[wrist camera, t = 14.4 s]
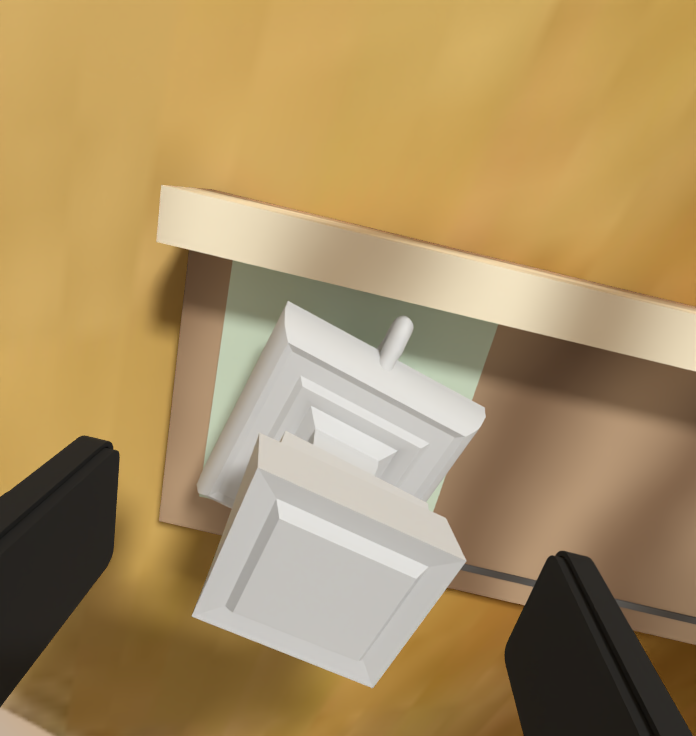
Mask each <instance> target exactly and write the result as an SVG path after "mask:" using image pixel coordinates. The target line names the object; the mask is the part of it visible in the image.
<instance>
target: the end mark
mask: <svg viewBox="0 0 696 736" xmlns="http://www.w3.org/2000/svg"><path fill="white" fill-rule="evenodd" d="M287 301H289V302H291V303H293V304H295V305H297V306H298V307H300V308H302V309H304V310H306V311H308V312H310V313H311V314H313V315H315V316H317V317H319V318H321V319H322V320H324V321H326V322H328V323H330V324H332V325H333V326H335V327H337V328H339V329H341V330H343V331H345V332H346V333H348V334H350V335H352V336H354V337H356V338H357V339H359V340H361V341H363V342H365V343H367V344H368V345H370V346H372V347H374V348H376V349H377V348H378V346H379V345H380V343H381V342H382V341H383V339H384V338H385V336H386V333H387V331H388V329H389V328H390V326H391V324H392V323H393V321H394V320H395V319H396V318H397V317H399V316H407V317H408V318H409V319H410V320H411V321H412V323H413V332H412V334H411V336H410V338H409V340H408V342H407V344H406V346H405V348H404V351H403V353H402V355H401V356H400V357H399V359H398V361H400V362H402V363H403V364H405V365H407V366H409V367H411V368H413V369H415V370H416V371H418V372H420V373H422V374H424V375H426V376H427V377H429V378H431V379H433V380H435V381H437V382H438V383H440V384H442V385H444V386H446V387H448V388H450V389H451V390H453V391H455V392H457V393H459V394H461V395H462V396H464V397H466V398H468V399H470V400H472V399H473V396H474V393H475V390H476V387H477V384H478V381H479V379H480V376H481V373H482V370H483V367H484V364H485V361H486V358H487V356H488V353H489V350H490V347H491V344H492V341H493V338H494V335H495V333H496V330H497V327H498V324H496V323H492V322H488V321H484V320H480V319H476V318H471V317H467V316H463V315H459V314H455V313H451V312H447V311H442V310H438V309H434V308H430V307H426V306H422V305H417V304H413V303H409V302H405V301H401V300H397V299H392V298H388V297H384V296H380V295H376V294H372V293H368V292H363V291H359V290H355V289H351V288H347V287H343V286H338V285H334V284H330V283H326V282H322V281H318V280H313V279H309V278H305V277H301V276H297V275H293V274H288V273H284V272H280V271H276V270H272V269H268V268H264V267H259V266H255V265H251V264H247V263H243V262H239V261H234V260H233V262H232V269H231V276H230V283H229V290H228V297H227V304H226V311H225V318H224V325H223V332H222V339H221V346H220V353H219V360H218V367H217V374H216V381H215V388H214V395H213V402H212V409H211V416H210V423H209V430H208V437H207V444H206V451H205V458H204V465H203V468H204V466H205V464H206V462H207V460H208V458H209V457H210V455H211V453H212V451H213V449H214V447H215V445H216V443H217V441H218V439H219V437H220V435H221V433H222V431H223V429H224V427H225V425H226V423H227V421H228V419H229V417H230V415H231V413H232V411H233V409H234V407H235V405H236V403H237V401H238V399H239V397H240V395H241V393H242V391H243V389H244V387H245V385H246V383H247V381H248V379H249V377H250V375H251V373H252V371H253V369H254V367H255V365H256V363H257V361H258V359H259V357H260V355H261V353H262V351H263V349H264V347H265V345H266V343H267V341H268V339H269V337H270V335H271V333H272V331H273V329H274V327H275V325H276V323H277V321H278V319H279V317H280V315H281V313H282V311H283V309H284V307H285V305H286V303H287ZM445 476H446V475H445ZM444 479H445V477H444V478H443V480H442V481H441V482H440V484H439V485H438V487H437V488H436V489H435V491H434V492H433V493H432V495H431V496H430V498H429V499H428V500H427V502H426V503H428V508H429V511H432V512H433V511H434V508H435V505H436V502H437V499H438V496H439V494H440V491H441V488H442V485H443V482H444ZM199 496H200V497H204V498H208V497H206V496H204V495H202V494H200V493H199ZM209 499H210V498H209Z"/></svg>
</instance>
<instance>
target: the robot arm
mask: <svg viewBox="0 0 696 736" xmlns="http://www.w3.org/2000/svg"><path fill="white" fill-rule="evenodd" d="M119 458H120V457H119V452H118V451H117V450H113V445H112V443H111V442H109V441H105V440H101V439H97V438H93V437H89V436H81V437H79V438H77V439H76V440H75V441H73V442H72V443H71V444H69V445H68V446H67V447H66V448H64V449H63V450H62V451H60V452H59V453H58V454H57V455H55V456H54V457H53V458H51V459H50V460H49V461H48V462H46V463H45V464H44V465H42V466H41V467H40V468H38V469H37V470H36V471H35V472H33V473H32V474H31V475H29V476H28V477H27V478H26V479H24V480H23V481H22V482H20V483H19V484H18V485H16V486H15V487H14V488H13V489H11V490H10V491H8V492H7V493H5V494H4V495H2V496H1V497H0V707H1V705H2V704H3V703H4V702H5V700H6V699H7V698H8V696H9V695H10V694H11V692H12V691H13V690H14V688H15V687H16V686H17V684H18V683H19V682H20V680H21V679H22V678H23V677H24V675H25V674H26V673H27V671H28V670H29V669H30V667H31V666H32V665H33V663H34V662H35V661H36V659H37V658H38V657H39V656H40V654H41V653H42V652H43V650H44V649H45V648H46V646H47V645H48V644H49V642H50V641H51V640H52V638H53V637H54V636H55V634H56V633H57V632H58V631H59V629H60V628H61V627H62V625H63V624H64V623H65V621H66V620H67V619H68V617H69V616H70V615H71V613H72V612H73V611H74V609H75V608H76V607H77V606H78V604H79V603H80V602H81V600H82V599H83V598H84V596H85V595H86V594H87V592H88V591H89V590H90V588H91V587H92V586H93V584H94V583H95V582H96V581H97V579H98V578H99V577H100V575H101V574H102V573H103V571H104V570H105V569H106V567H107V566H108V564H109V562H110V560H111V557H112V554H113V549H114V534H115V519H116V504H117V489H118V473H119ZM505 664H506V668H507V672H508V676H509V680H510V683H511V687H512V691H513V695H514V699H515V703H516V707H517V711H518V715H519V719H520V723H521V726H522V730H523V734H524V736H693V735H692V733H691V732H690V730H689V728H688V726H687V725H686V723H685V721H684V719H683V718H682V716H681V714H680V712H679V711H678V709H677V707H676V705H675V704H674V702H673V700H672V698H671V697H670V695H669V693H668V691H667V690H666V688H665V686H664V684H663V683H662V681H661V679H660V677H659V676H658V674H657V672H656V670H655V668H654V667H653V665H652V663H651V661H650V660H649V658H648V656H647V654H646V653H645V651H644V649H643V647H642V646H641V644H640V642H639V640H638V639H637V637H636V635H635V633H634V632H633V630H632V628H631V626H630V625H629V623H628V621H627V619H626V618H625V616H624V614H623V612H622V611H621V609H620V607H619V605H618V604H617V602H616V600H615V598H614V597H613V595H612V593H611V591H610V590H609V588H608V586H607V584H606V583H605V581H604V579H603V577H602V576H601V574H600V572H599V570H598V569H597V567H596V565H595V563H594V562H593V561H592V559H591V558H589V557H587V556H583V555H579V554H575V553H571V552H567V551H559V552H558V553H557V554H556V555H555V556H553V555H551V556H549V557H548V558H547V560H546V562H545V564H544V566H543V568H542V570H541V572H540V574H539V577H538V579H537V581H536V583H535V585H534V587H533V589H532V591H531V593H530V595H529V598H528V600H527V602H526V604H525V606H524V608H523V610H522V612H521V614H520V616H519V619H518V621H517V623H516V625H515V627H514V629H513V631H512V633H511V635H510V638H509V640H508V642H507V644H506V648H505Z"/></svg>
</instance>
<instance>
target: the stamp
mask: <svg viewBox="0 0 696 736" xmlns="http://www.w3.org/2000/svg"><path fill="white" fill-rule="evenodd" d="M412 332H413V323H412V321H411V320H410V319H409V318H408V317H407V316H399V317H397V318H396V319H395V320H394V321H393V323H392V324H391V326H390V328H389V329H388V331H387V333H386V336H385V338H384V339H383V341H382V342H381V343H380V345H379V346H378V348H377V349H376V348H374V347H372V346H370V345H368V344H367V343H365V342H363V341H361V340H359V339H357V338H356V337H354V336H352V335H350V334H348V333H346V332H345V331H343V330H341V329H339V328H337V327H335V326H333V325H332V324H330V323H328V322H326V321H324V320H322V319H321V318H319V317H317V316H315V315H313V314H311V313H310V312H308V311H306V310H304V309H302V308H300V307H298V306H297V305H295V304H293V303H291V302H289V301H287V303H286V305H285V307H284V309H283V311H282V313H281V315H280V317H279V319H278V321H277V323H276V325H275V327H274V329H273V331H272V333H271V335H270V337H269V339H268V341H267V343H266V345H265V347H264V349H263V351H262V353H261V355H260V357H259V359H258V361H257V363H256V365H255V367H254V369H253V371H252V373H251V375H250V377H249V379H248V381H247V383H246V385H245V387H244V389H243V391H242V393H241V395H240V397H239V399H238V401H237V403H236V405H235V407H234V409H233V411H232V413H231V415H230V417H229V419H228V421H227V423H226V425H225V427H224V429H223V431H222V433H221V435H220V437H219V439H218V441H217V443H216V445H215V447H214V449H213V451H212V453H211V455H210V457H209V458H208V460H207V462H206V464H205V466H204V468H203V470H202V472H201V474H200V478H199V480H198V482H197V484H196V485H197V490H198V493H200V494H202V495H204V496H206V497H208V498H210V499H212V500H214V501H216V502H218V503H221V504H223V505H225V506H227V507H229V508H231V509H232V510H231V512H230V515H229V518H228V521H227V523H226V526H225V529H224V532H223V534H222V537H221V540H220V543H219V545H218V548H217V551H216V554H215V556H214V559H213V562H212V565H211V567H210V570H209V573H208V575H207V578H206V580H205V583H204V586H203V588H202V591H201V593H200V596H199V599H198V601H197V604H196V606H195V609H194V611H193V614H192V617H194V618H197V619H199V620H202V621H204V622H207V623H209V624H212V625H214V626H217V627H219V628H222V629H225V630H227V631H230V632H232V633H235V634H237V635H240V636H242V637H245V638H247V639H250V640H252V641H255V642H257V643H260V644H263V645H265V646H268V647H270V648H273V649H275V650H278V651H280V652H283V653H285V654H288V655H290V656H293V657H295V658H298V659H300V660H303V661H306V662H308V663H311V664H313V665H316V666H318V667H321V668H323V669H326V670H328V671H331V672H333V673H336V674H338V675H341V676H343V677H346V678H349V679H351V680H354V681H356V682H359V683H361V684H364V685H366V686H369V687H371V688H373V687H374V686H375V685H376V683H377V682H378V680H379V679H380V678H381V676H382V675H383V674H384V672H385V671H386V670H387V668H388V667H389V666H390V664H391V663H392V661H393V660H394V659H395V657H396V656H397V655H398V653H399V652H400V651H401V649H402V648H403V647H404V645H405V644H406V642H407V641H408V640H409V638H410V637H411V636H412V634H413V633H414V632H415V630H416V629H417V628H418V626H419V625H420V623H421V622H422V621H423V619H424V618H425V617H426V615H427V614H428V613H429V611H430V610H431V609H432V607H433V606H434V605H435V603H436V602H437V600H438V599H439V598H440V596H441V595H442V594H443V592H444V591H445V590H446V588H447V587H448V586H449V584H450V583H451V581H452V580H453V579H454V577H455V576H456V575H457V573H458V572H459V571H460V569H461V568H462V567H463V565H464V564H465V562H466V559H465V557H464V555H463V553H462V550H461V548H460V546H459V544H458V542H457V540H456V538H455V536H454V534H453V532H452V530H451V528H450V525H449V523H448V521H447V519H446V518H445V517H443V516H440V515H438V514H436V513H434V512H432V511H429V508H428V503H426V502H427V500H428V499H429V498H430V496H431V495H432V493H433V492H434V491H435V489H436V488H437V487H438V485H439V484H440V482H441V481H442V480H443V478H444V477H445V475H446V474H447V473H448V471H449V470H450V469H451V467H452V466H453V464H454V463H455V462H456V460H457V459H458V457H459V456H460V455H461V453H462V452H463V451H464V449H465V448H466V446H467V445H468V444H469V442H470V441H471V439H472V438H473V437H474V435H475V434H476V433H477V431H478V430H479V428H480V427H481V425H482V423H483V421H484V419H485V418H486V415H485V407H483V406H481V405H479V404H477V403H475V402H474V401H472V400H470V399H468V398H466V397H464V396H462V395H461V394H459V393H457V392H455V391H453V390H451V389H450V388H448V387H446V386H444V385H442V384H440V383H438V382H437V381H435V380H433V379H431V378H429V377H427V376H426V375H424V374H422V373H420V372H418V371H416V370H415V369H413V368H411V367H409V366H407V365H405V364H403V363H402V362H400V361H398V359H399V357H400V356H401V355H402V353H403V351H404V348H405V346H406V344H407V342H408V340H409V338H410V336H411V334H412Z"/></svg>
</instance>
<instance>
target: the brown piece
mask: <svg viewBox="0 0 696 736" xmlns="http://www.w3.org/2000/svg"><path fill="white" fill-rule="evenodd" d="M157 242H160V243H164V244H168V245H172V246H176V247H180V248H185V249H189V255H188V264H187V273H186V282H185V291H184V300H183V309H182V318H181V327H180V336H179V345H178V354H177V363H176V372H175V381H174V390H173V399H172V408H171V417H170V426H169V435H168V444H167V453H166V462H165V471H164V480H163V489H162V498H161V507H160V516H159V521H162V522H166V523H170V524H175V525H179V526H183V527H188V528H192V529H196V530H201V531H205V532H209V533H214V534H218V535H222V534H223V532H224V529H225V526H226V523H227V521H228V518H229V515H230V512H231V510H232V509H231V508H229V507H227V506H225V505H223V504H221V503H218V502H216V501H214V500H212V499H209V498H204V497H200V496H199V493H198V490H197V485H196V484H197V482H198V480H199V478H200V474H201V472H202V470H203V465H204V458H205V451H206V444H207V437H208V430H209V423H210V416H211V409H212V402H213V395H214V388H215V381H216V374H217V367H218V360H219V353H220V346H221V339H222V332H223V325H224V318H225V311H226V304H227V297H228V290H229V283H230V276H231V269H232V262H233V260H234V261H239V262H243V263H247V264H251V265H255V266H259V267H264V268H268V269H272V270H276V271H280V272H284V273H288V274H293V275H297V276H301V277H305V278H309V279H313V280H318V281H322V282H326V283H330V284H334V285H338V286H343V287H347V288H351V289H355V290H359V291H363V292H368V293H372V294H376V295H380V296H384V297H388V298H392V299H397V300H401V301H405V302H409V303H413V304H417V305H422V306H426V307H430V308H434V309H438V310H442V311H447V312H451V313H455V314H459V315H463V316H467V317H471V318H476V319H480V320H484V321H488V322H492V323H496V324H498V327H497V330H496V333H495V335H494V338H493V341H492V344H491V347H490V350H489V353H488V356H487V358H486V361H485V364H484V367H483V370H482V373H481V376H480V379H479V381H478V384H477V387H476V390H475V393H474V396H473V399H472V401H474V402H475V403H477V404H479V405H481V406H483V407H485V415H486V418H485V419H484V421H483V423H482V425H481V427H480V428H479V430H478V431H477V433H476V434H475V435H474V437H473V438H472V439H471V441H470V442H469V444H468V445H467V446H466V448H465V449H464V451H463V452H462V453H461V455H460V456H459V457H458V459H457V460H456V462H455V463H454V464H453V466H452V467H451V469H450V470H449V471H448V473H447V474H446V476H445V479H444V482H443V485H442V488H441V491H440V494H439V496H438V499H437V502H436V505H435V508H434V511H433V512H434V513H436V514H438V515H440V516H443V517H445V518H446V519H447V521H448V523H449V525H450V528H451V530H452V532H453V534H454V536H455V538H456V540H457V542H458V544H459V546H460V548H461V550H462V553H463V555H464V557H465V559H466V562H465V564H464V565H463V567H462V568H461V569H460V571H459V572H458V573H457V575H456V576H455V577H454V579H453V580H452V581H451V583H450V584H449V586H448V587H447V588H452V589H456V590H460V591H465V592H469V593H473V594H478V595H482V596H486V597H491V598H495V599H499V600H504V601H508V602H512V603H517V604H521V605H525V604H526V602H527V600H528V598H529V595H530V593H531V591H532V589H533V587H534V585H535V583H536V581H537V579H538V577H539V574H540V572H541V570H542V568H543V566H544V564H545V562H546V560H547V558H548V557H549V556H551V555H553V556H555V555H556V554H557V553H558V552H559V551H567V552H571V553H575V554H579V555H583V556H587V557H589V558H591V559H592V561H593V562H594V563H595V565H596V567H597V569H598V570H599V572H600V574H601V576H602V577H603V579H604V581H605V583H606V584H607V586H608V588H609V590H610V591H611V593H612V595H613V597H614V598H615V600H616V602H617V604H618V605H619V607H620V609H621V611H622V612H623V614H624V616H625V618H626V619H627V621H628V623H629V625H630V626H631V628H632V630H634V631H638V632H642V633H647V634H651V635H655V636H660V637H664V638H668V639H673V640H677V641H681V642H686V643H690V644H694V645H696V307H694V306H690V305H686V304H682V303H678V302H673V301H669V300H665V299H661V298H657V297H653V296H649V295H645V294H641V293H636V292H632V291H628V290H624V289H620V288H616V287H612V286H608V285H603V284H599V283H595V282H591V281H587V280H583V279H579V278H575V277H570V276H566V275H562V274H558V273H554V272H550V271H546V270H542V269H538V268H533V267H529V266H525V265H521V264H517V263H513V262H509V261H505V260H500V259H496V258H492V257H488V256H484V255H480V254H476V253H472V252H468V251H463V250H459V249H455V248H451V247H447V246H443V245H439V244H435V243H430V242H426V241H422V240H418V239H414V238H410V237H406V236H402V235H397V234H393V233H389V232H385V231H381V230H377V229H373V228H369V227H365V226H360V225H356V224H352V223H348V222H344V221H340V220H336V219H332V218H327V217H323V216H319V215H315V214H311V213H307V212H303V211H299V210H294V209H290V208H286V207H282V206H278V205H274V204H270V203H266V202H262V201H257V200H253V199H249V198H245V197H241V196H237V195H233V194H229V193H224V192H220V191H216V190H212V189H201V188H190V187H178V186H167V185H161V196H160V207H159V219H158V230H157Z"/></svg>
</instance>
